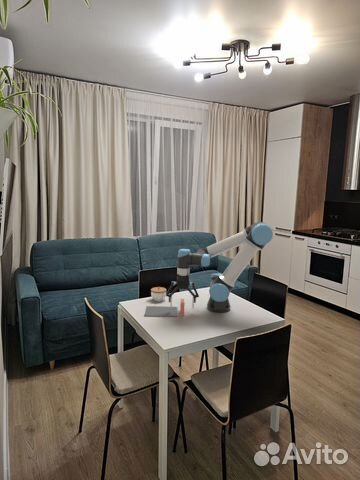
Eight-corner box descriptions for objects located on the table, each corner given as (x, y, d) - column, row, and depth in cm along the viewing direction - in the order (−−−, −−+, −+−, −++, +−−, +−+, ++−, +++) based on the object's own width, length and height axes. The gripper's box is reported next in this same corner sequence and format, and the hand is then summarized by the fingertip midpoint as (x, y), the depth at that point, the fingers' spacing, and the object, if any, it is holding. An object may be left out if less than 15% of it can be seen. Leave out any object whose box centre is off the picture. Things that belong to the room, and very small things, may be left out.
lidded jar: (169, 299, 227) (169, 286, 226) (160, 303, 218) (160, 290, 217) (156, 296, 233) (157, 283, 231) (147, 300, 224) (147, 287, 222)
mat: (177, 307, 212) (177, 306, 212) (177, 317, 196) (177, 316, 196) (146, 307, 211) (146, 306, 211) (144, 316, 196) (144, 315, 195)
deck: (183, 310, 206) (184, 298, 205) (184, 316, 197) (184, 303, 196) (180, 310, 206) (180, 298, 205) (180, 316, 197) (180, 303, 196)
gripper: (203, 273, 202) (201, 305, 205) (163, 272, 202) (162, 304, 205) (204, 276, 195) (202, 310, 198) (162, 275, 194) (161, 309, 197)
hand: (181, 307), depth 201 cm, fingers open, 13 cm apart
